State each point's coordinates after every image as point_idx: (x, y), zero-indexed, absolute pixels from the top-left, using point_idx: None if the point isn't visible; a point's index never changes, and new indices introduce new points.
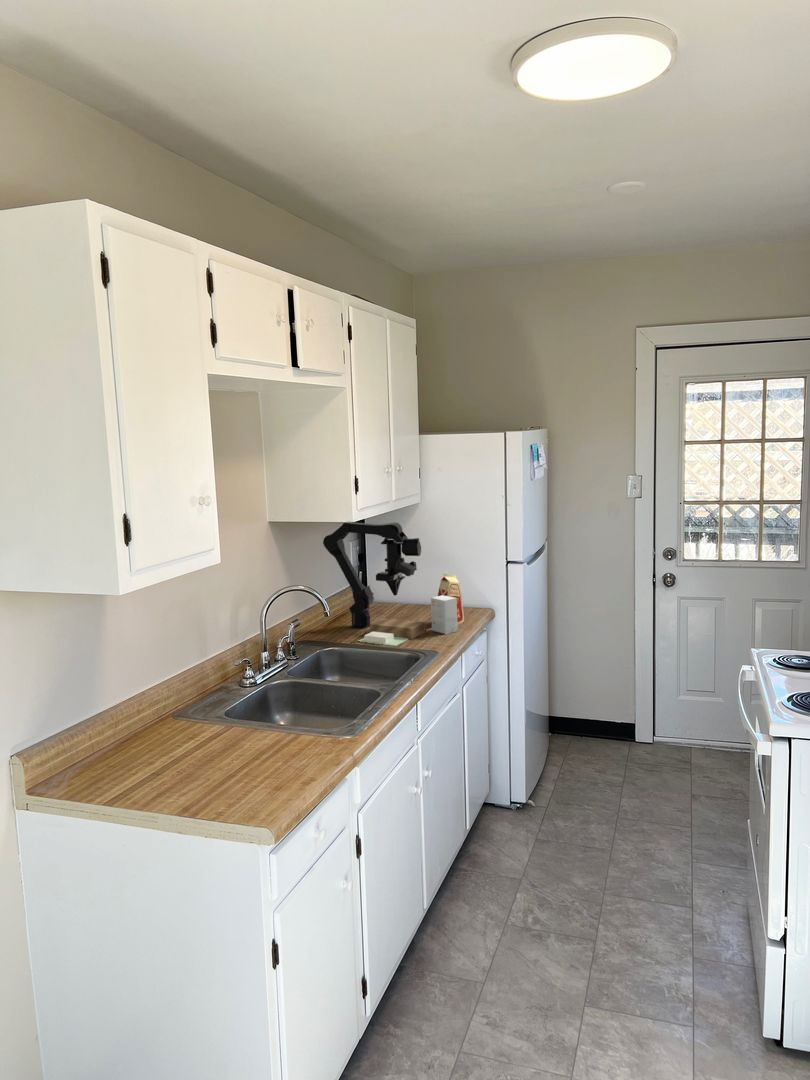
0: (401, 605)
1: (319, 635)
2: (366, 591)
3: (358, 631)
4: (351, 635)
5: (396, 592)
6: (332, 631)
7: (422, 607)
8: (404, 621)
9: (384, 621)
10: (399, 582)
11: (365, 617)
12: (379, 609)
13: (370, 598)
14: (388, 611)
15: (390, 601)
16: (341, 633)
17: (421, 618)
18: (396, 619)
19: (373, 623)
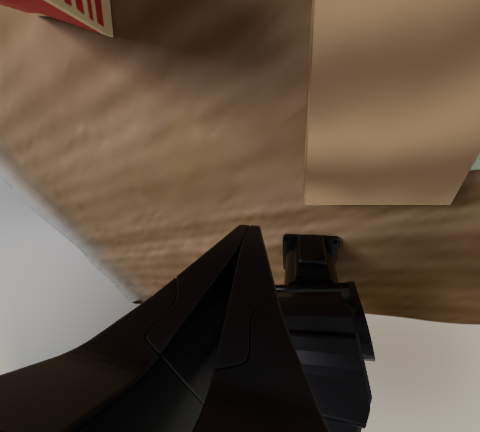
0: (103, 248)
1: (451, 303)
2: (341, 387)
3: (376, 235)
4: (446, 233)
5: (249, 239)
6: (391, 290)
7: (68, 202)
8: (345, 43)
9: (371, 168)
10: (136, 343)
11: (326, 261)
12: (156, 270)
13: (309, 323)
14: (152, 251)
15: (106, 273)
16: (415, 267)
17: (126, 137)
18: (308, 133)
19: (433, 196)
